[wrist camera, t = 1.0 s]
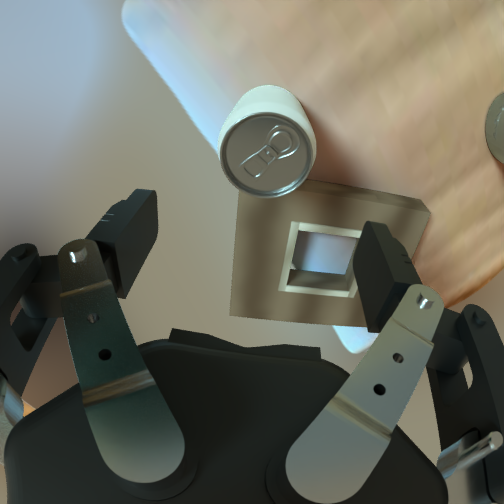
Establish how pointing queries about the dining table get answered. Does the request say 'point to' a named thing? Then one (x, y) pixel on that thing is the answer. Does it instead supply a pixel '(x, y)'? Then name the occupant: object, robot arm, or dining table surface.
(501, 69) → the dining table surface
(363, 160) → the dining table surface
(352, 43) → the dining table surface
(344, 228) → the socket board
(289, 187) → the can
